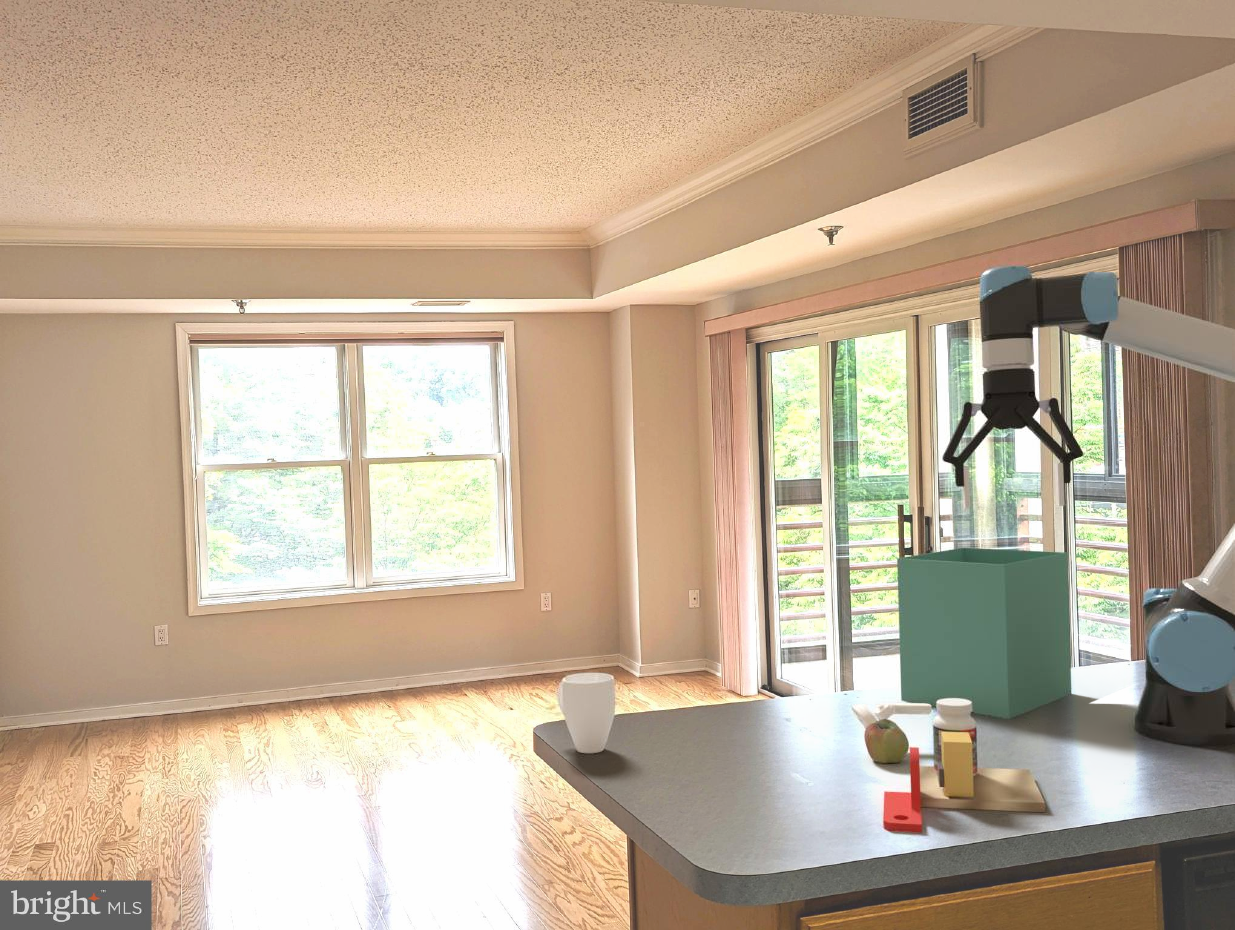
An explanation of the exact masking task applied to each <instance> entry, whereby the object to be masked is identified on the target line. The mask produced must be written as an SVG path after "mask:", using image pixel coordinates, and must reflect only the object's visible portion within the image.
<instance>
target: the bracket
mask: <svg viewBox="0 0 1235 930" xmlns="http://www.w3.org/2000/svg"><path fill="white" fill-rule="evenodd" d="M920 766H921V765H920V747H913V746H909V768H910V769H909V772H910V773H909V776H910V791H909V792H907V791H905V792H904V791H888V790H887V791H884V793H883V810H882V811H883V814H882V815H883V816H882V820H883V821H882V822H883V823H882V824H883V826H882V827H883V829H884V830H885V831H888V832H897V833H898V832H900V833H901V832H902V833H915V834H916V833H917V834H918V833H919V834H923V822H922V807H921V795H920Z"/></svg>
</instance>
